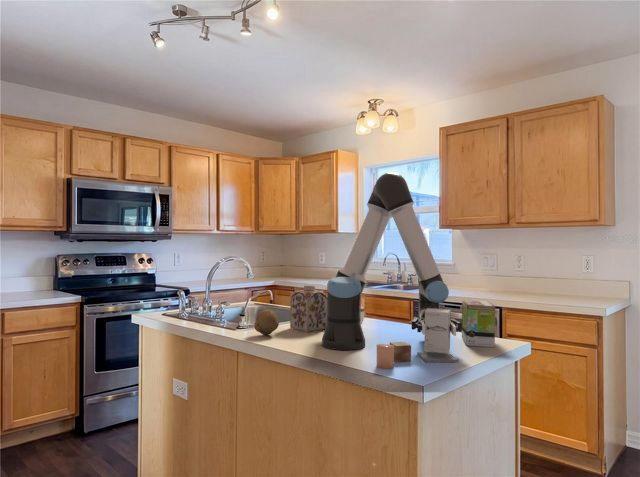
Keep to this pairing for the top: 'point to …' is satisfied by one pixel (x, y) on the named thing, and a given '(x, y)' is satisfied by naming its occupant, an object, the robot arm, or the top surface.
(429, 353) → the slate tile
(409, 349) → the walnut block
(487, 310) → the tea box
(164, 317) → the top surface
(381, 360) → the peach rounded cylinder
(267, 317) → the natural sponge
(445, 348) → the supplement box
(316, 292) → the decorative jar
